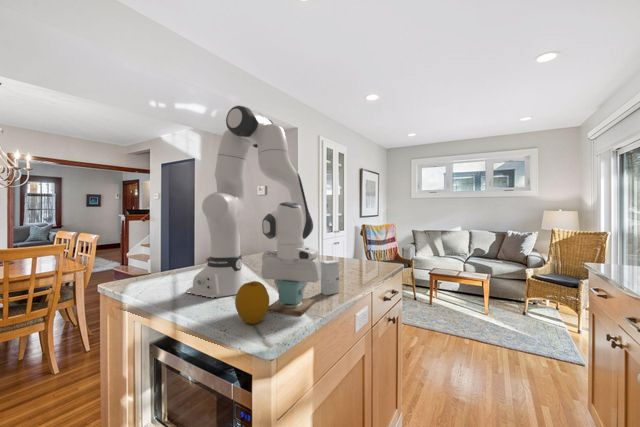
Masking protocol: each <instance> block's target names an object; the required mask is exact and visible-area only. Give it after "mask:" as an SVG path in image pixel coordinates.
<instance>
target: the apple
mask: <svg viewBox="0 0 640 427" xmlns="http://www.w3.org/2000/svg"><path fill="white" fill-rule="evenodd" d="M235 295H236V296H235V300H234V304H235V309H236V313H237V315H238V316H239V317H240V319H241V320H242V321H244V322H245V323H246V324H249V325H255V324H258V323H260V322H261V321H263V319H264V318H265V316H266V314H267V313H268V312H267V310H268V308H269V306H270V295H269V293H268V290H267V287H266V286H265V285H264V284H263V283H262V282H260V281H256V280H255V281H249V282H246V283H243V285H242V286H241V287H240V289H239V290H238V292H237V294H235Z"/></svg>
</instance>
